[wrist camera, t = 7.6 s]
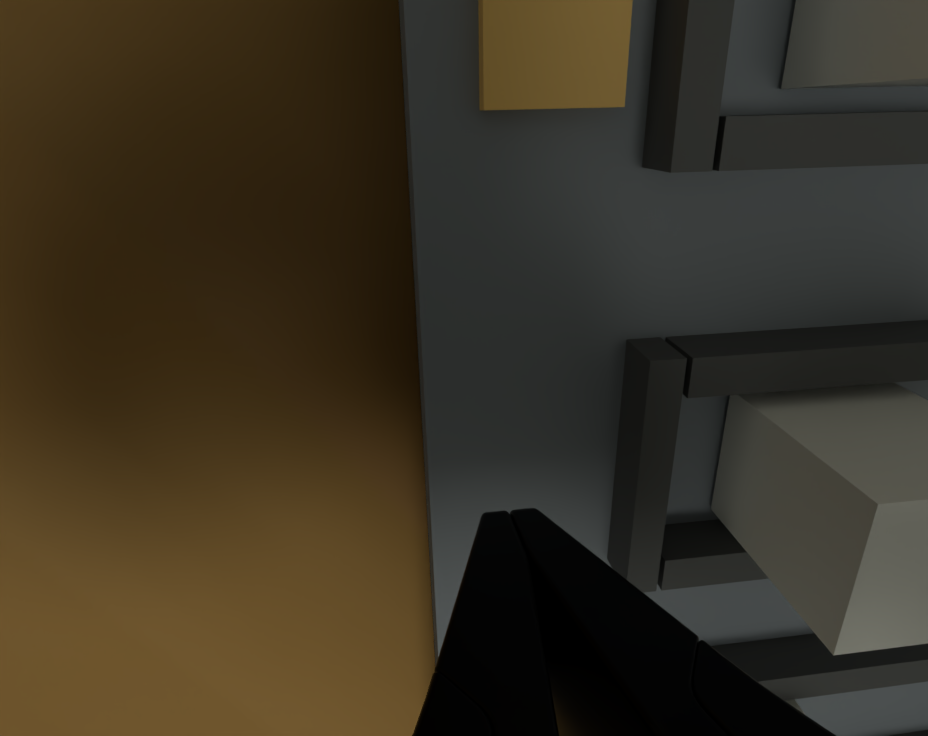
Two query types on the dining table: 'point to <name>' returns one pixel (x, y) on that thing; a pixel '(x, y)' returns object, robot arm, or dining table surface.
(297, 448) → the dining table surface
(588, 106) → the switch unit
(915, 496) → the slider
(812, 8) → the slider
